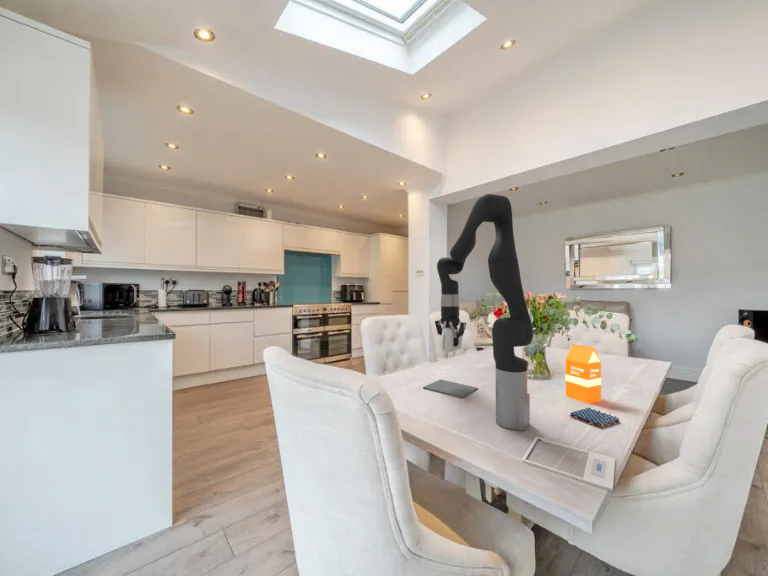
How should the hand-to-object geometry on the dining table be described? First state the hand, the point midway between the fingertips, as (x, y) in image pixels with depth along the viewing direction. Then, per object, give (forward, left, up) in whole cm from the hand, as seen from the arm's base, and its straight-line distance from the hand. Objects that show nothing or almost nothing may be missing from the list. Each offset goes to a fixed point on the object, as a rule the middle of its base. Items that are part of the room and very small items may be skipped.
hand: (450, 345), depth 130 cm
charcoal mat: (0, 0, -18) cm, 18 cm away
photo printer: (0, -7, +3) cm, 8 cm away
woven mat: (-50, -3, -19) cm, 53 cm away
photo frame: (-49, +29, -19) cm, 60 cm away
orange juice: (-44, -23, -19) cm, 53 cm away
